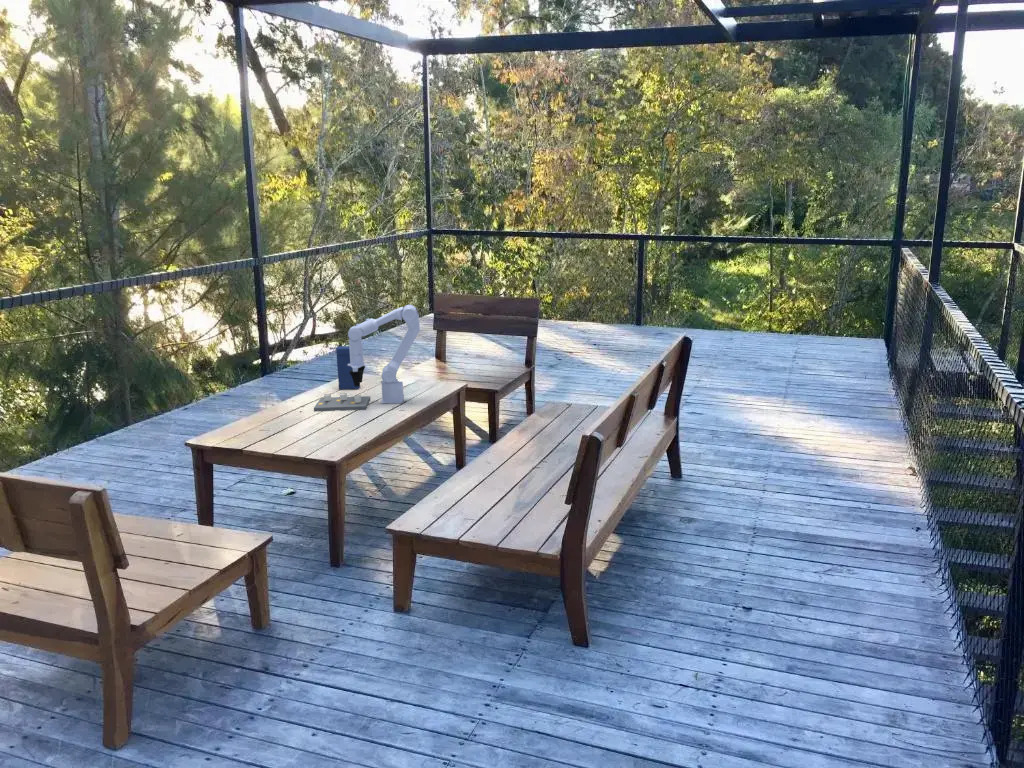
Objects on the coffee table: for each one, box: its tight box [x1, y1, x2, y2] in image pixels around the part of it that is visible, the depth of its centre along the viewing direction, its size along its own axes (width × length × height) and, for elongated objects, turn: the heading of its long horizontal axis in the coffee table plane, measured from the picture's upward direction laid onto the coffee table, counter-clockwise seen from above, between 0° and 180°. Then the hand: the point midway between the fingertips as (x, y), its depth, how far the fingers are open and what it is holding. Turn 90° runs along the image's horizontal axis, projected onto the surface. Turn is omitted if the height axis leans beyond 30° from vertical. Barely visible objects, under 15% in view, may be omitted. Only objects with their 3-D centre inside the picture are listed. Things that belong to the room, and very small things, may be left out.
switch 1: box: [323, 393, 332, 401], centre depth 390 cm, size 2×3×3 cm
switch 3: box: [353, 394, 362, 403], centre depth 386 cm, size 2×3×3 cm
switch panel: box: [313, 395, 372, 412], centre depth 388 cm, size 22×18×2 cm
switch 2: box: [339, 392, 348, 400], centre depth 390 cm, size 2×3×3 cm
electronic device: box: [335, 345, 361, 390], centre depth 417 cm, size 10×5×20 cm, turn 84°
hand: (358, 384), depth 389 cm, fingers open, 7 cm apart
